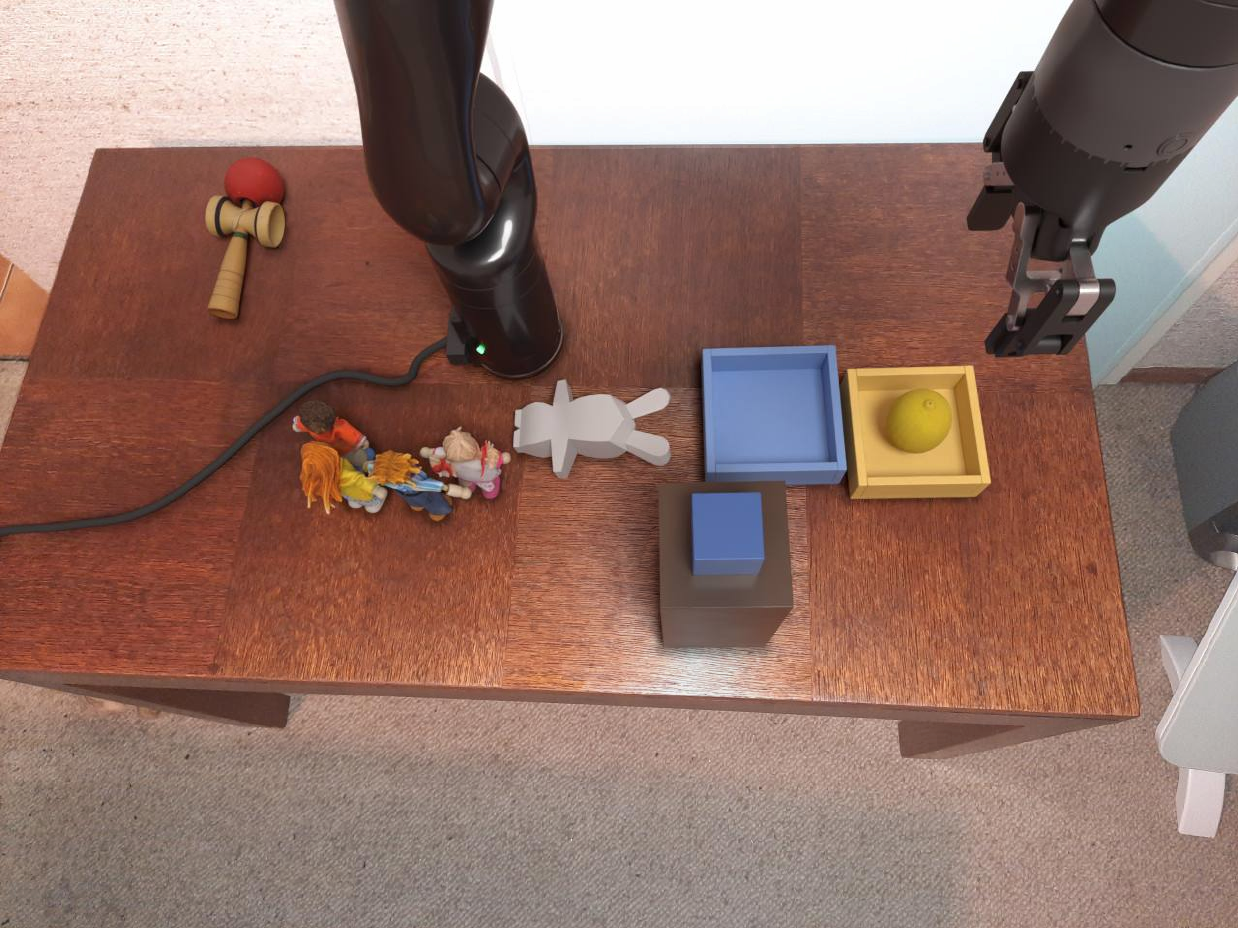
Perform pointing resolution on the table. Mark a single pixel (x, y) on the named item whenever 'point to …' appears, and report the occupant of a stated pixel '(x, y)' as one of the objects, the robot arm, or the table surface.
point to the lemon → (919, 420)
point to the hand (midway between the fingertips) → (992, 286)
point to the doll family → (389, 466)
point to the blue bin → (772, 415)
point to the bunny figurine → (589, 428)
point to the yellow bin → (900, 473)
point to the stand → (722, 602)
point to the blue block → (727, 533)
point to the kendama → (243, 225)
